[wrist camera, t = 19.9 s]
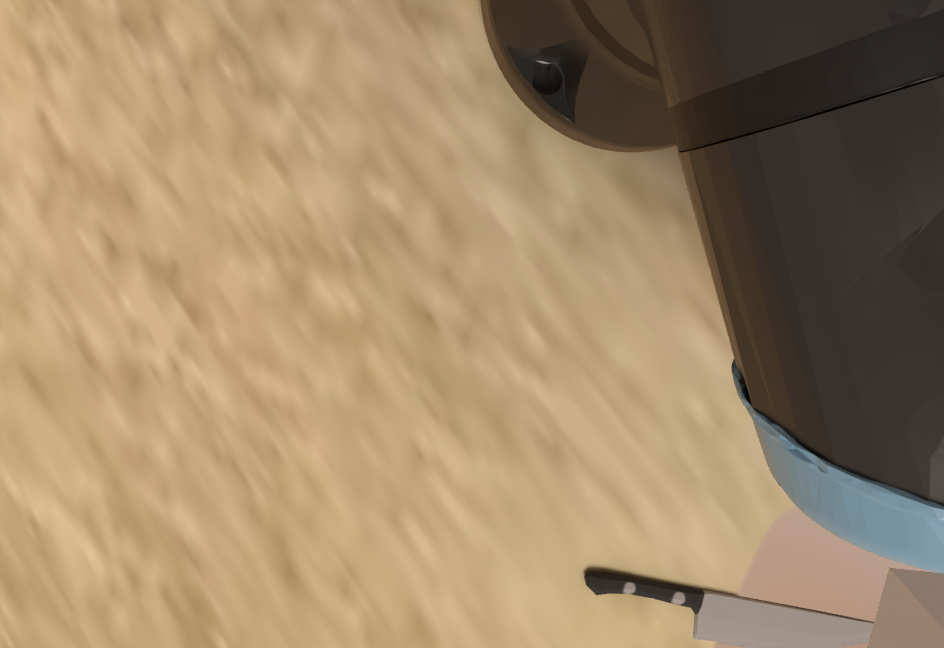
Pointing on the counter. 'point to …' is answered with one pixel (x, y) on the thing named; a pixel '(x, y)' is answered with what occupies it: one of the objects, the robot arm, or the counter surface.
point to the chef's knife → (744, 616)
